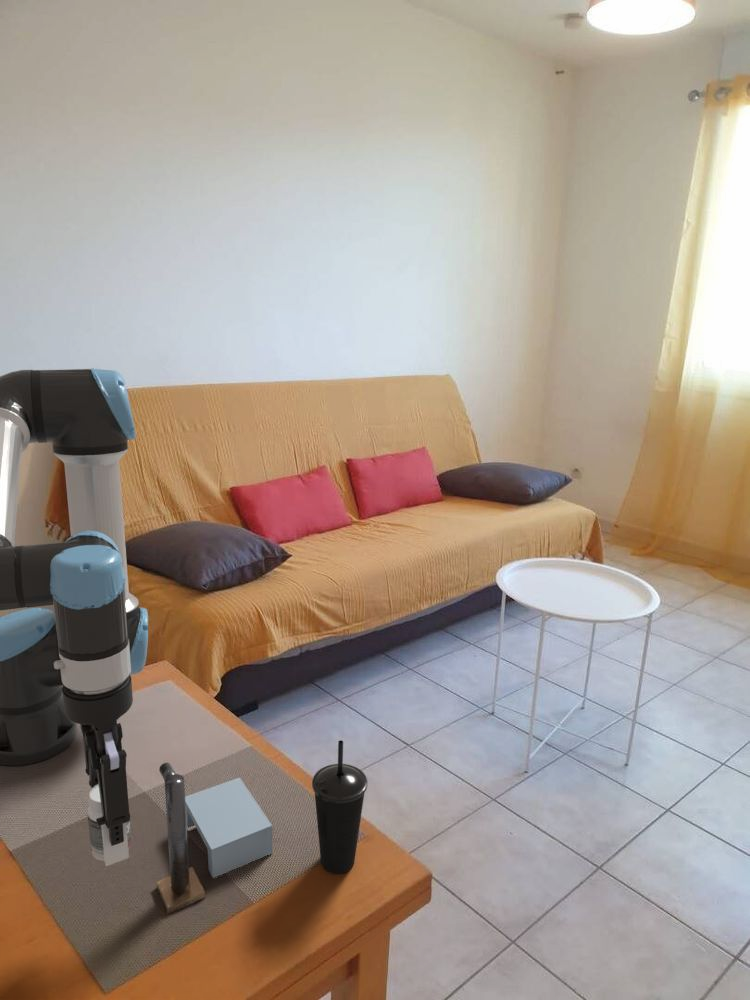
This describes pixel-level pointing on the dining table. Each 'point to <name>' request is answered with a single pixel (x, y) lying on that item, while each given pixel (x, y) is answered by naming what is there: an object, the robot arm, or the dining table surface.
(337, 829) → the drinking cup
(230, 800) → the light blue boxy piece
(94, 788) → the pill bottle
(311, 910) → the dining table surface
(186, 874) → the hook post
